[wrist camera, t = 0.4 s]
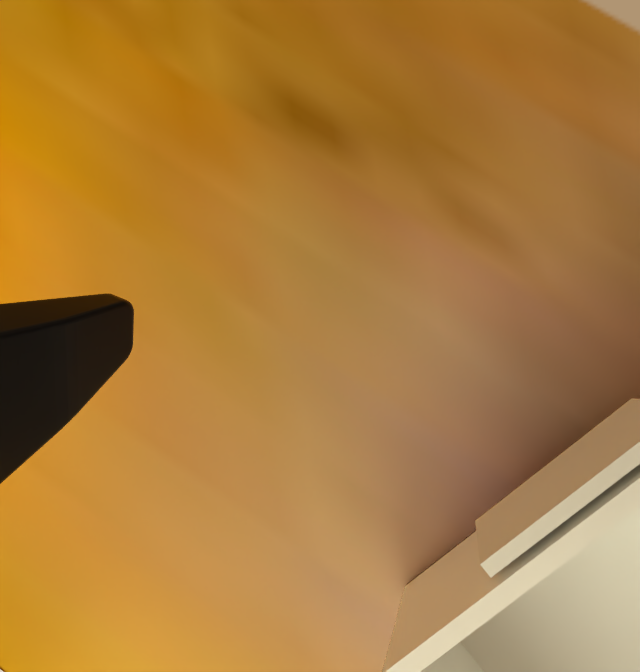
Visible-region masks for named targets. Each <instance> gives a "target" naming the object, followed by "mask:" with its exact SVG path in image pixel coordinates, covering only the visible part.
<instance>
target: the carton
mask: <svg viewBox="0 0 640 672" xmlns="http://www.w3.org/2000/svg"><path fill="white" fill-rule="evenodd" d="M475 526H476V531H475V532H474V533H473V534H471V535H470V536H469V537H468V538H466V539H465V540H464V541H462V542H461V543H460V544H459V545H457V546H456V547H455V548H453V549H452V550H451V551H450V552H448V553H447V554H446V555H444V556H443V557H442V558H441V559H439V560H438V561H437V562H435V563H434V564H433V565H432V566H430V567H429V568H428V569H426V570H425V571H424V572H423V573H421V574H420V575H419V576H417V577H416V578H415V579H414V580H412V581H411V582H410V583H408V584H407V585H406V586H405V588H404V592H403V595H402V599H401V603H400V607H399V611H398V614H397V618H396V622H395V626H394V629H393V633H392V637H391V641H390V644H389V648H388V652H387V656H386V659H385V663H384V667H383V671H382V672H640V399H634V398H631V399H630V400H629V401H628V402H626V403H625V404H624V405H622V406H621V407H620V408H619V409H617V410H616V411H615V412H614V413H612V414H611V415H610V416H608V417H607V418H606V419H605V420H603V421H602V422H601V423H599V424H598V425H597V426H596V427H594V428H593V429H592V430H591V431H589V432H588V433H587V434H585V435H584V436H583V437H582V438H580V439H579V440H578V441H576V442H575V443H574V444H573V445H571V446H570V447H569V448H567V449H566V450H565V451H564V452H562V453H561V454H560V455H559V456H557V457H556V458H555V459H553V460H552V461H551V462H550V463H548V464H547V465H546V466H544V467H543V468H542V469H541V470H539V471H538V472H537V473H536V474H534V475H533V476H532V477H530V478H529V479H528V480H527V481H525V482H524V483H523V484H521V485H520V486H519V487H518V488H516V489H515V490H514V491H512V492H511V493H510V494H509V495H507V496H506V497H505V498H504V499H502V500H501V501H500V502H498V503H497V504H496V505H495V506H493V507H492V508H491V509H489V510H488V511H487V512H486V513H484V514H483V515H482V516H481V517H479V518H478V519H477V520H475Z"/></svg>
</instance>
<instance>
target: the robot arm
mask: <svg viewBox="0 0 640 672" xmlns="http://www.w3.org/2000/svg"><path fill="white" fill-rule="evenodd" d="M133 323H134V309H133V306H132V304H131V303H130V302H129V301H127V300H124V299H122V298H120V297H117V296H115V295H112V294H98V295H88V296H78V297H68V298H57V299H47V300H37V301H27V302H17V303H7V304H0V484H1V483H2V482H3V481H4V480H5V479H6V478H7V477H8V476H10V475H11V474H12V473H13V472H14V471H15V470H16V469H17V468H19V467H20V466H21V465H22V464H23V463H24V462H25V461H26V460H27V459H29V458H30V457H31V456H32V455H33V454H34V453H35V452H36V451H38V450H39V449H40V448H41V447H42V446H43V445H44V444H45V443H47V442H48V441H49V440H50V439H51V438H52V437H53V436H54V435H55V434H57V433H58V432H59V431H60V430H61V429H62V428H63V427H64V426H65V425H66V424H67V423H68V422H69V421H70V420H71V419H72V418H73V417H74V416H75V415H76V414H77V413H78V412H79V411H80V410H81V409H82V408H83V407H84V406H85V404H86V403H87V402H88V401H89V400H90V399H91V398H92V397H93V396H94V395H95V393H96V392H97V391H98V390H99V389H100V388H101V387H102V386H103V385H104V384H105V382H106V381H107V380H108V379H109V378H110V377H111V376H112V375H113V374H114V373H115V371H116V370H117V369H118V368H119V367H120V366H121V365H122V364H123V363H124V362H125V360H126V359H127V358H128V356H129V355H130V353H131V350H132V346H133Z"/></svg>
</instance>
